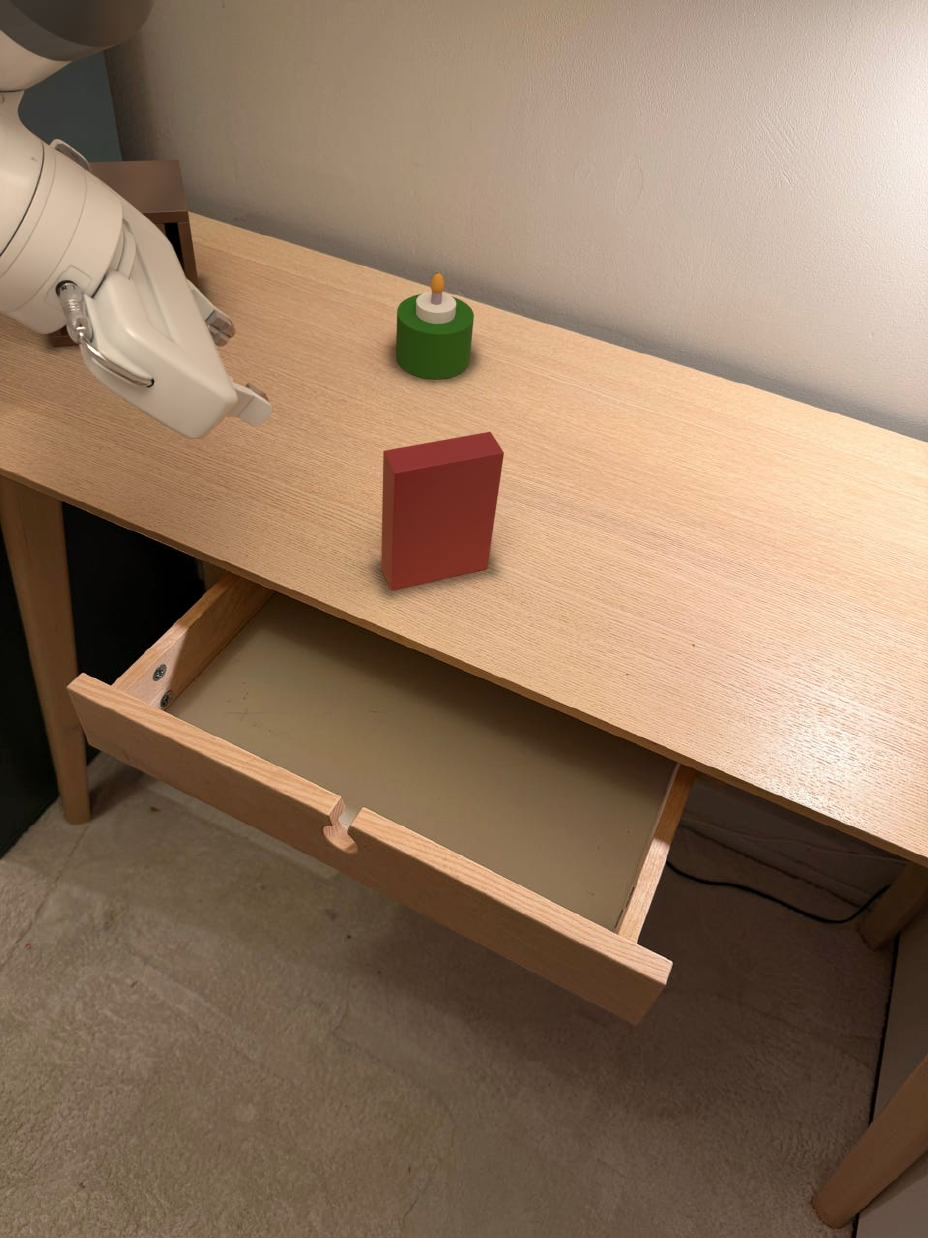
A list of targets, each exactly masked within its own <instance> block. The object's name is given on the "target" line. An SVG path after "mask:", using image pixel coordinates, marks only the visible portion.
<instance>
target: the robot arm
mask: <svg viewBox="0 0 928 1238" xmlns="http://www.w3.org/2000/svg"><path fill="white" fill-rule="evenodd" d="M155 1H156V0H0V312H1V313H2V314H4V315H6V316H8V317H10V318H12V319H13V320H15V321H16V322H19V323H20V324H22V325H24V326H25V327H27V328H29V329H31V330H33V331H35V333H39V334H43V335H47V334H48V335H49V333H52V332H55V331H57V330H59V329H60V328H62V327H63V326H65V325H66V326H67V331H68V333H69V336H70V337H71V339H72V340H73V341H74V342H75V343H77V344H79V345H78V346H79V350H80V353H81V357H82V361H83V362H84V364H85V366H86V368H87V370H88V371H89V372H90V374H91V375H92V376H93V377H94V378H95V380H97V381H98V382H99V383H100V384H101V385H103V386H104V387H105V388H106V389H108V390H109V391H110V392H111V393H113V394H114V395H116V396H117V397H118V398H120V399H121V400H123V401H125V402H127V404H129V405H131V406H132V407H134V408H135V409H137V410H139V411H140V412H142V413H144V414H145V415H147V416H148V417H150V418H151V419H153V420H154V421H157V422H158V423H160V424H161V425H163V426H165V427H167V428H168V429H169V430H171V431H173V432H175V433H176V434H178V435H180V436H181V437H184V438H187V439H188V440H205V439H207V438H208V437H210V435H212V434H213V433H214V432H215V431H216V429H217V428H218V427H219V426H220V424H222V423H223V422H224V420H225V419H227V417H229V418H237V419H239V420H241V421H243V422H245V423H246V424H247V425H250V426H251V427H254V428H259V427H261V426H262V425H263V424H264V423H265V422H266V421H267V420H268V419H269V417H270V416H271V415H272V414H273V412H274V408H273V406H272V404H271V402H270V399H269V398H268V396H267V394H266V392H264V391H262V390H260V389H258V388H257V387H256V386H254V385H253V384H251V383H249V382H246V384H245V385H241V384H239V383H236V382H235V381H234V378H233V377H232V376H231V375H229V373H228V370H227V368H226V366H225V363H224V361H223V359H222V356H221V355H220V352H219V350H218V348H217V347H225V346H226V345H228V343H229V342H230V339H232V338H233V337H235V334H236V327H235V325H234V323H233V320H232V319H231V317H230V316H229V315H228V314H226V313H225V312H224V311H223V310H221V309H219V308H218V307H217V306H216V305H214V304H213V303H212V302H211V301H210V300H209V299H208V297H206V296H205V295H204V294H203V293H202V292H201V290H200V291H199V290H198V289H197V288H196V287H195V286H194V285H193V284H192V283H191V282H190V281H189V280H188V279H186V277H185V274H184V272H183V270H182V267H181V265H180V263H179V261H178V258H177V256H176V254H175V251H174V249H173V246H172V244H171V243H170V242H169V240H168V239H167V238H166V237H165V235H164V234H163V233H162V232H161V231H160V230H159V229H158V228H157V227H156V226H155V225H154V224H153V223H152V222H151V221H150V220H149V219H148V218H146V217H145V216H144V215H143V214H142V213H140V212H139V211H138V210H137V209H136V208H135V207H133V206H132V205H131V204H130V203H129V202H127V201H126V200H125V199H124V198H122V197H121V196H120V195H119V194H118V193H116V192H115V191H114V190H113V189H112V188H110V187H109V186H108V185H107V184H105V183H104V182H103V181H101V180H100V179H99V178H97V177H96V176H95V175H94V174H93V172H92V171H91V168H90V166H89V164H88V162H89V161H88V160H87V159H86V158H85V157H84V155H82V154H81V153H80V152H79V151H77V150H76V149H75V148H73V147H72V146H71V145H69V144H68V143H66V142H65V141H63V140H62V139H58V138H55V139H53V140H52V141H51V143H49V144H48V143H46V142H45V141H44V140H42V138H40V137H39V136H37V135H35V134H34V133H33V132H32V131H30V130H29V129H28V128H26V127H25V125H24V123H22V121H21V118H20V116H19V111H18V110H19V105H20V104H21V100H22V98H23V96H24V94H25V91H26V90H27V89H29V88H31V87H33V86H36V85H37V84H39V83H41V82H43V81H44V80H46V79H48V78H49V77H50V76H52V75H53V74H55V73H57V72H58V71H60V70H61V69H63V68H64V67H66V66H68V65H69V64H71V63H73V62H74V61H79V60H82V59H85V58H87V57H90V56H92V55H95V54H97V53H99V52H102V51H105V50H107V49H109V48H112V47H115V46H117V45H120V44H122V43H124V42H126V41H128V40H129V39H131V38H133V36H135V35H136V34H137V33H138V32H139V31H140V30H141V29H142V28H143V26H144V25H145V24H146V22H147V20H148V18H149V16H150V14H151V13H152V10H153V7H154V4H155Z"/></svg>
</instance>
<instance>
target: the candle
mask: <svg viewBox="0 0 928 1238" xmlns="http://www.w3.org/2000/svg"><path fill="white" fill-rule="evenodd" d="M444 289H445V280H444V276H443V275H442V274H441V273H439V272H438V273H435V274H434V275H433V277H432V278H431V281H430V290H431V291H427V292H424V293H419V294H415V295H412V296H409V297H407V298H405V299H404V300H402V301H401V302H400V303H399V305H398V306H397V308H396V309H397V310H396V340H395V359H396V363H397V364H398V365H399V367H400V368H401V369H402V370H403V371H405V372H407V373H408V374H410V375H413V376H415V377H418V378H422V379H423V378H424V379H426V380H428V379H429V380H444V379H445V380H446V379H451V378H454V377H457V376H459V375H461V374H463V373H464V372H465V371H466V370H467V369H468V367H469V366H470V361H471V349H472V339H473V329H474V321H475V320H474V319H475V314H474V311H473V309H472V308H471V307H470V305H469V304H468V303H466V302H465V301H463V300H462V299H460V298H458V297H455V296H452V295H449V294H448V293H445V292H443V291H444Z"/></svg>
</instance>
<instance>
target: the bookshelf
mask: <svg viewBox="0 0 928 1238" xmlns="http://www.w3.org/2000/svg"><path fill="white" fill-rule="evenodd" d="M87 162H88V164H89V166H90V168H91V171H92V172H93V174H94V175H95V176H96V177H97V178H99V179H100V180H101V181H103V182H104V183H105V184H107V185H108V186H109V187H110V188H112V189H113V190H114V191H115V192H116V193H118V194H119V195H120V196H121V197H122V198H124V199H125V200H126V201H127V202H129V203H130V204H131V205H132V206H133V207H135V208H136V209H137V210H138V211H139V212H140V213H142V214H143V215H144V216H145V217H146V218H148V219H149V220H150V221H151V222H152V223H153V224H154V225H155V226H156V227H157V228H158V229H159V230H160V231H161V232H162V233H163V234H164V235H165V237H166V238H167V239H168V240H169V242H170V243H171V244H172V246H173V249H174V251H175V254H176V256H177V258H178V261H179V263H180V265H181V267H182V270H183V272H184V274H185V277H186V279H188V280H189V281H190V282H191V283H192V284H193V285H194V286H195V287H196V288H197V289H198V290H199V291H200V292H201V290H200V283H199V278H198V277H199V276H198V270H197V269H198V268H197V263H196V255H195V250H194V243H193V236H192V229H191V223H190V216H189V209H188V203H187V197H186V192H185V187H184V180H183V175H182V174H183V173H182V169H181V163H180V162H181V161H180V160H179V159H156V160H154V159H153V160H130V161H129V160H124V161H123V160H121V161H119V160H118V161H90V162H89V161H87ZM48 335H49V339H50V341H51V345H52V347H53V348H56V347H70V346H71V347H72V346H79V344H77V343H75V342H74V341H73V340H72V339H71V337H70V336H69V333H68V331H67V326H66V325H65V326H63V327H62V328H60V329H59V330H57V331H55V332H52V333H48Z"/></svg>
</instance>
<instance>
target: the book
mask: <svg viewBox="0 0 928 1238" xmlns="http://www.w3.org/2000/svg"><path fill="white" fill-rule="evenodd" d="M504 456H505V452H504V450H503V449H502V447H501V446H500V444H499V442H498V441H497V439H496V438H495V436H494V434H493V433H492V432H491V431H487V432H480V433H474V434H469V435H462V436H457V437H452V438H447V439H442V440H435V441H429V442H424V443H418V444H413V445H408V446H402V447H397V448H390V449H386V450H383V451H382V501H381V502H382V509H381V557H380V559H381V561H380V569H381V572H382V574H383V576H384V578H385V580H386V582H387V585H388V587H389V589H390V591H397V590H401V589H405V588H409V587H414V586H419V585H422V584H427V583H431V582H435V581H440V580H445V579H448V578H454V577H458V576H463V575H466V574H471V573H475V572H481V571H484V570H487V569H488V568H489V560H490V553H491V547H492V539H493V532H494V526H495V518H496V511H497V505H498V497H499V491H500V483H501V477H502V471H503V462H504Z"/></svg>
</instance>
